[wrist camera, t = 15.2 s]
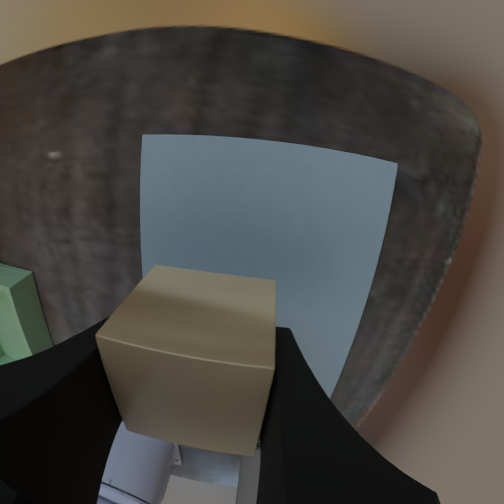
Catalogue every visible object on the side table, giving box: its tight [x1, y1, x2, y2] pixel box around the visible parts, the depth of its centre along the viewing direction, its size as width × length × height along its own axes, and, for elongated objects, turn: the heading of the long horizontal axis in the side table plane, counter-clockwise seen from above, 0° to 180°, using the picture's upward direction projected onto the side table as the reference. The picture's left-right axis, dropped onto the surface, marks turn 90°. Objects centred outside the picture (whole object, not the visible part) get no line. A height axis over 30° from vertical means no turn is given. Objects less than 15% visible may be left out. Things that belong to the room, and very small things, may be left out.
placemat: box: [140, 135, 398, 399], centre depth 18 cm, size 20×14×1 cm
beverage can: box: [236, 447, 261, 504], centre depth 19 cm, size 6×6×12 cm
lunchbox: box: [0, 263, 53, 365], centre depth 20 cm, size 11×13×3 cm
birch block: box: [95, 265, 276, 456], centre depth 8 cm, size 4×4×4 cm
